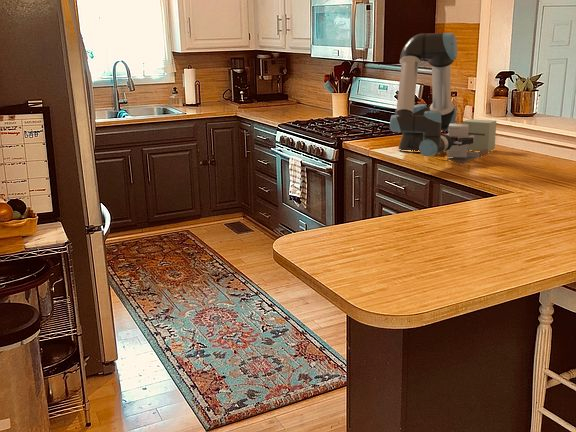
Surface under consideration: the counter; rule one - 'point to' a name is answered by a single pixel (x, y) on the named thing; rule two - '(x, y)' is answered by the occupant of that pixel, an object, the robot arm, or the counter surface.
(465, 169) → the counter surface
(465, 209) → the counter surface
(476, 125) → the dispenser rack
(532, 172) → the counter surface
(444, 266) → the counter surface
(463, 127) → the supplement box
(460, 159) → the trivet
